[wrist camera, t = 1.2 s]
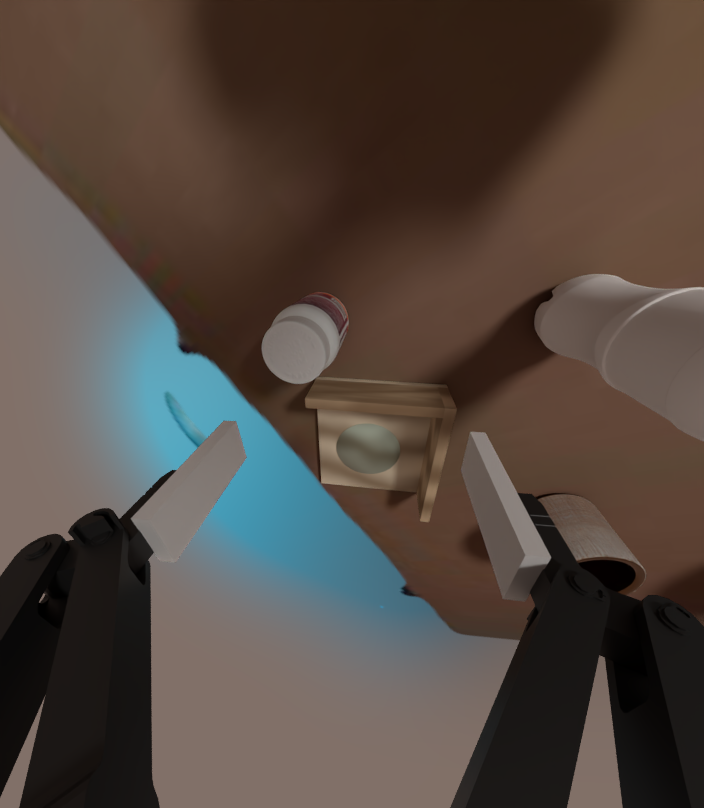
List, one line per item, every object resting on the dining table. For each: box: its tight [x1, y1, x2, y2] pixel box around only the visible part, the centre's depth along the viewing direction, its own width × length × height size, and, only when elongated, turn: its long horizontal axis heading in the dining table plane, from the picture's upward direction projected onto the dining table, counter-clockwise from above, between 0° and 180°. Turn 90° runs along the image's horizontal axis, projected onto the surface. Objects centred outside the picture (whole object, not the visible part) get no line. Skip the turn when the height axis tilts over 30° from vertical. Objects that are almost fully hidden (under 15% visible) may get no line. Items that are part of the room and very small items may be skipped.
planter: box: [537, 494, 646, 595], centre depth 37 cm, size 11×11×10 cm
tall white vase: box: [534, 274, 704, 441], centre depth 16 cm, size 7×7×25 cm
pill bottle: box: [262, 292, 349, 384], centre depth 26 cm, size 6×6×11 cm
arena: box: [305, 377, 457, 522], centre depth 35 cm, size 18×16×6 cm
